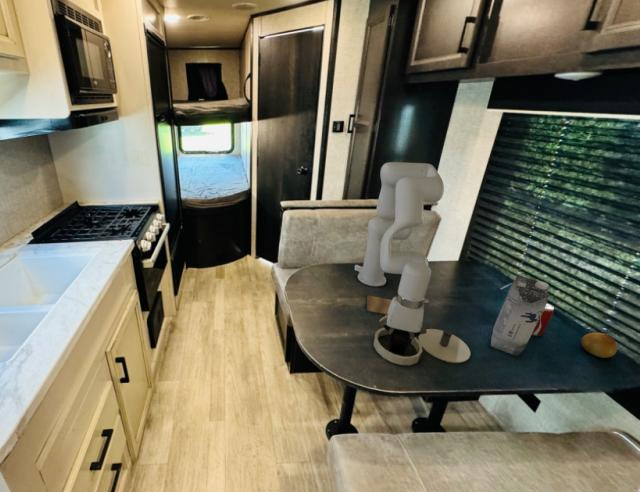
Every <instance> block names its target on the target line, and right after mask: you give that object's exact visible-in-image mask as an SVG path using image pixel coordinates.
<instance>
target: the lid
mask: <svg viewBox="0 0 640 492" xmlns="http://www.w3.org/2000/svg"><path fill="white" fill-rule="evenodd" d="M426 330H427V333H425V334H420V335H419V336H417V339H418V341H419V342H420V344H421V345H422V349H423V350H424V351H426V352H427V353H428V354H429V355H431V356H433V357H435V358H436V359H438V360H441V361H443V362H447V363H453V364H461V363H465V362H467V361H468V360H469V359H470V357H471V350H470V348H469V346H468V345H467V343H466V342H464V340H462V339H461V338H459V337H458V336H456V335H455V334H453V332H452V331H451V330H449V329H444V330H443V329H435V328H428V329H427V328H426Z"/></svg>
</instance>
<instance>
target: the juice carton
mask: <svg viewBox="0 0 640 492" xmlns="http://www.w3.org/2000/svg"><path fill="white" fill-rule="evenodd" d="M549 286H550V285H549V282H544V281H541V280H537V279H533V278H531V277H526V276H523V275H519V274H518V275H517V276H516V278H515V279H514V281H513V282H512V284H511V286H510V288H509V290H508V292H507V295H506V297H505V299H504V301H503V304H502V306H501V309H500V311H499V314H498V316H497V318H496V320H495V323H494V326H493V329H492V333H491V339H490V341H491V342H490V346H491V347H492V348H495V349H496V350H499V351H503V352H504V353H507V354H510V355H512V356H514V357H519V356H520V354H522V352H523V351H524V350H525V348H526V346H527V344H528V342H529V340H530V338H531V336H533V335H532V333H533V331H534V329H535V327H536V325H537V323H538V321H539V319H540V317H541V315H542V313H543V311H544V308H545V306H546V304H547V303H548V300H549V296H550V295H549V292H548V289H549Z"/></svg>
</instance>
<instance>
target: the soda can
mask: <svg viewBox="0 0 640 492" xmlns="http://www.w3.org/2000/svg"><path fill="white" fill-rule="evenodd" d="M554 313H555V307H554V306H553V305H552V304H550V303H548V302H547V304H546V306H545V308H544V311H543V313H542V315H541V317H540V319H539V321H538V323H537V325H536V327H535V329H534V331H533V333H532V335H531V336H534V337H541V336H543V334H544V332H545V330H546V329H547V327H548V325H549V323H550V320H551V319H552V317H553V315H554Z"/></svg>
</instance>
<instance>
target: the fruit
mask: <svg viewBox="0 0 640 492" xmlns="http://www.w3.org/2000/svg"><path fill="white" fill-rule="evenodd" d="M581 346H582V348H583V349H584V350H585V351H586V352H587V353H588V354H590V355H592V356H595V357H598V358H602V359H608V358H611V357H613V356H615V354H617V351H618V344H617V342H616V340H615V339H614V338H613V337H612V336H611V334H608V333H603V332H589V333H587V334H584V336H583V337H582V338H581Z"/></svg>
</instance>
